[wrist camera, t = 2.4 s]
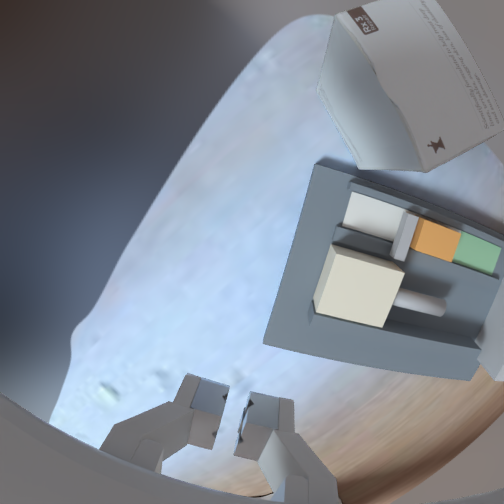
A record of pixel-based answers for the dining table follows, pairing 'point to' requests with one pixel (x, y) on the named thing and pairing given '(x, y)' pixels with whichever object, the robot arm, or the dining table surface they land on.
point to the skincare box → (404, 87)
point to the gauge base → (415, 279)
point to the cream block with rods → (370, 283)
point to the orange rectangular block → (435, 239)
